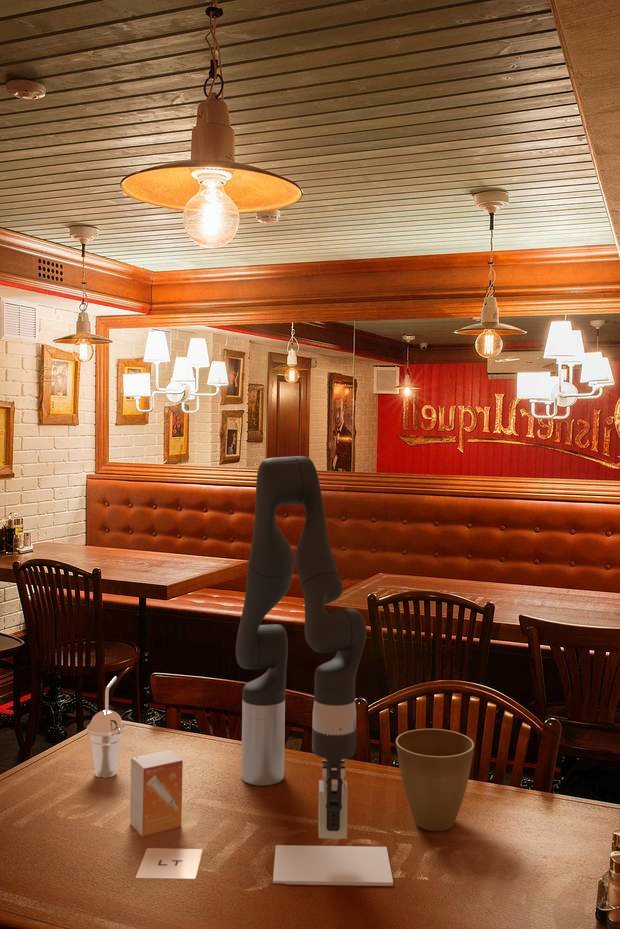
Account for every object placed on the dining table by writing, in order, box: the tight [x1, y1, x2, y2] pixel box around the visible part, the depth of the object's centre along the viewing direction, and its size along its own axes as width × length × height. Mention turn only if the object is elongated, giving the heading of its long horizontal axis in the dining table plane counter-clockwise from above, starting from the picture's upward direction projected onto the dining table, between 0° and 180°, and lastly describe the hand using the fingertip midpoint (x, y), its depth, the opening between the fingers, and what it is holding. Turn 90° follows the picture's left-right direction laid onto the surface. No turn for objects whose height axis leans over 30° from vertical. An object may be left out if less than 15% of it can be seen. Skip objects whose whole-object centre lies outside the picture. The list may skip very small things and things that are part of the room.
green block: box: [317, 779, 349, 840], centre depth 146 cm, size 5×5×8 cm
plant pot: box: [395, 728, 475, 832], centre depth 163 cm, size 15×15×16 cm
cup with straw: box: [85, 675, 127, 779], centre depth 184 cm, size 8×9×20 cm
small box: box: [129, 749, 184, 838], centre depth 160 cm, size 8×6×13 cm
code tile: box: [135, 847, 204, 880], centre depth 146 cm, size 10×10×1 cm
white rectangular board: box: [272, 844, 394, 887], centre depth 146 cm, size 12×20×1 cm, turn 90°
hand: (332, 822), depth 146 cm, fingers closed on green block, 4 cm apart
